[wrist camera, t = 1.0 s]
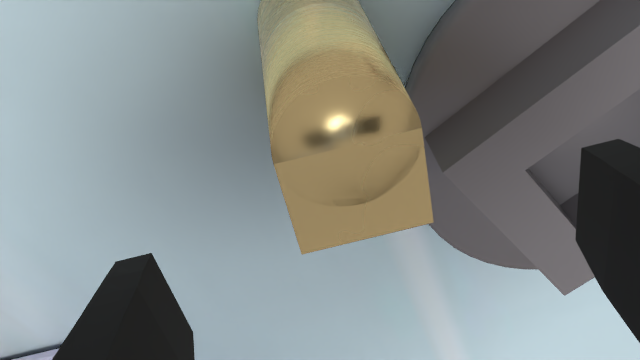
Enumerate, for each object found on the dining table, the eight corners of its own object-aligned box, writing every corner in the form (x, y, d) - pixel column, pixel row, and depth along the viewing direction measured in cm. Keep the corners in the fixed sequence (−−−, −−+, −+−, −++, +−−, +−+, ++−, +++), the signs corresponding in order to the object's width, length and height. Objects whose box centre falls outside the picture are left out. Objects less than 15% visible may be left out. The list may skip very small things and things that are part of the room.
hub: (518, 298, 26) (548, 355, 23) (318, 113, 19) (331, 165, 17) (819, 107, 22) (894, 151, 19) (695, -210, 15) (784, -203, 13)
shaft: (372, 83, 19) (433, 223, 13) (280, 106, 19) (302, 255, 13) (349, -45, 16) (413, 58, 11) (245, -19, 16) (253, 98, 11)
